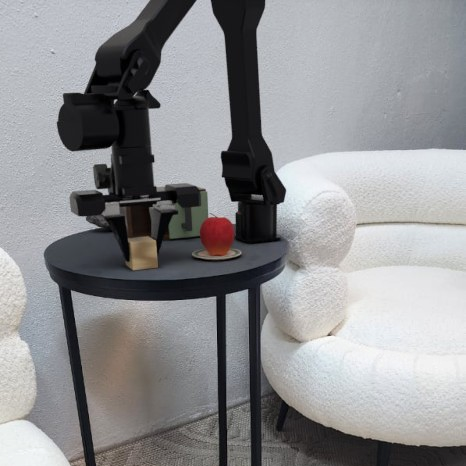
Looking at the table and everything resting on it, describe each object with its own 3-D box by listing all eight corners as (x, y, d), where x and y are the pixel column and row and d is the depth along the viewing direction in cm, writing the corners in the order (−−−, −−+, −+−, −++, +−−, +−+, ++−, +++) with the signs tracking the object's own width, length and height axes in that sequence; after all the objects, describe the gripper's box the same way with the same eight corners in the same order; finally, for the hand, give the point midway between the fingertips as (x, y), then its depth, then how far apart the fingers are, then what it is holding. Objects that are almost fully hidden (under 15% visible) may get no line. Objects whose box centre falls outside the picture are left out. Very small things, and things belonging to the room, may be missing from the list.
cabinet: (192, 229, 134) (190, 184, 130) (207, 235, 128) (205, 188, 123) (118, 236, 129) (113, 190, 125) (129, 243, 123) (125, 195, 118)
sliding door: (207, 234, 127) (206, 191, 123) (216, 238, 124) (214, 193, 120) (169, 238, 125) (166, 194, 121) (176, 242, 121) (173, 196, 118)
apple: (193, 252, 115) (191, 210, 112) (241, 251, 115) (240, 209, 111) (190, 262, 108) (188, 218, 105) (241, 261, 108) (240, 217, 105)
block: (150, 262, 109) (148, 236, 107) (158, 267, 105) (156, 240, 103) (125, 265, 107) (123, 238, 105) (133, 270, 104) (130, 243, 102)
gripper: (174, 140, 107) (180, 244, 115) (55, 146, 101) (70, 256, 109) (200, 144, 98) (204, 257, 107) (71, 151, 92) (86, 270, 100)
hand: (141, 259), depth 106 cm, fingers open, 4 cm apart
